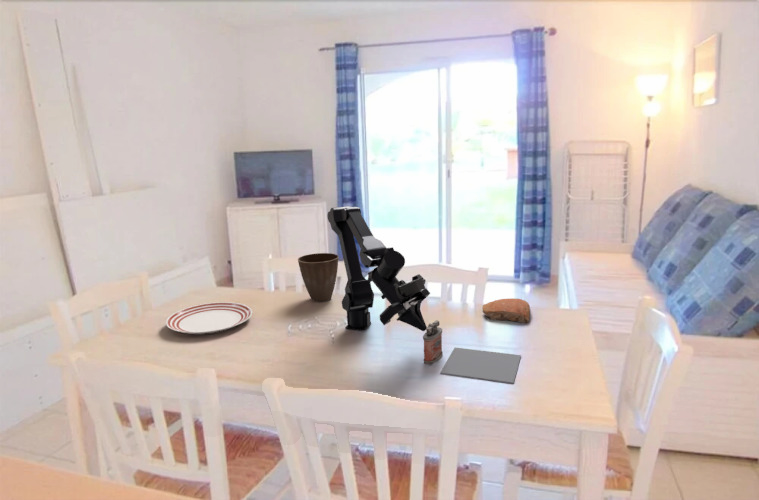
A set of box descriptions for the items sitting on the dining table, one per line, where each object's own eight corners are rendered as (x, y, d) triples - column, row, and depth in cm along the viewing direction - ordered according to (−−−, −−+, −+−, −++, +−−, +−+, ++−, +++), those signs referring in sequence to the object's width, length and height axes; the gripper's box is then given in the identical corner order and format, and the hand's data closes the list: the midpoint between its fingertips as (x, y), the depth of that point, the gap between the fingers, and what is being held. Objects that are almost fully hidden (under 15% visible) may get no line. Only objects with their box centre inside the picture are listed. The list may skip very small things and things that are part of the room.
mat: (440, 373, 128) (440, 372, 128) (454, 348, 142) (454, 347, 142) (513, 383, 121) (513, 382, 121) (520, 356, 136) (520, 355, 136)
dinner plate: (269, 320, 171) (268, 311, 170) (195, 347, 151) (194, 337, 150) (223, 305, 188) (222, 296, 188) (151, 328, 168) (149, 318, 167)
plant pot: (293, 303, 186) (290, 261, 183) (312, 291, 200) (309, 252, 196) (330, 306, 181) (327, 263, 178) (347, 294, 195) (344, 253, 191)
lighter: (432, 365, 132) (431, 329, 130) (420, 363, 134) (419, 327, 132) (445, 354, 139) (444, 319, 137) (434, 351, 141) (433, 317, 139)
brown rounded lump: (486, 291, 175) (530, 300, 172) (483, 309, 176) (527, 318, 172) (482, 299, 161) (531, 308, 157) (479, 318, 162) (527, 328, 158)
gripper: (387, 276, 128) (427, 324, 124) (423, 259, 143) (459, 302, 139) (363, 301, 134) (400, 348, 130) (400, 283, 149) (434, 325, 145)
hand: (425, 330), depth 136 cm, fingers closed
